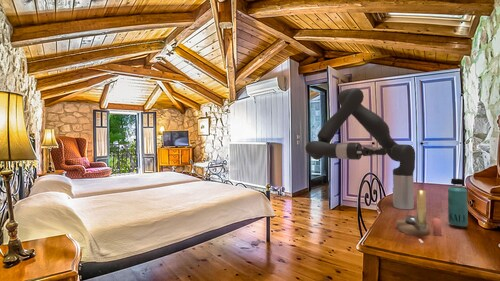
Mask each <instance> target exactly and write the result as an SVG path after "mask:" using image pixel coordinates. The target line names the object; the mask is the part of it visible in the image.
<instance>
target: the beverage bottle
mask: <svg viewBox="0 0 500 281" xmlns="http://www.w3.org/2000/svg"><path fill="white" fill-rule="evenodd" d="M450 184H451V186H450V187H448V188H447V192H448V193H447V204H448V205H447V220H448V221H447V222H448V223H449V224H451V225H452V226H453V225H454V226H456V227H467V226H468V224H469V217H468V216H469V215H468V213H469V212H468V211H469V209H468V189H466V188H465V187H463V186H464V185H465V182H464V179H462V178H451V179H450ZM455 185H457V186H455Z"/></svg>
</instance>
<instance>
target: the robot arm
mask: <svg viewBox="0 0 500 281" xmlns="http://www.w3.org/2000/svg"><path fill="white" fill-rule="evenodd" d="M364 99H365V98H364V93H363V91H362V90H361V89H360V88H357V87H353V88H346V89H343V90H341V91H340V92H339V94H338V95H337V101H338V103H339V105H340V107H339V108H338V110H336V112H335V113H334V114H333V115H332V116H331V117H330V118H328V119H327V121H326V122H325V123H324V124H323V125H322V127H321V129H320V130H319V132H318V133H317V138H318V140H311V141H309V142H308V143H306V144H305V152H306V153H307V154H308V155H309V156H310V157H311V158H312V159H313V160H317V161H318V160H321V159H323V157H326V158H329V159H339V160H340V159H341V160H355V161H359V160H361V158H362V156H363V157H372V156H388V157H389V158H390V159H391V160H393V161H395V162H398V163H399V165H398V167H395V168H393V169H392V206H393V207H394V208H396V209H399V210H414V209H415V208H414V206H415V204H414V202H415V201H414V199H415V198H414V195H415V194H414V171H415V169H416V168H415V167H416V150H415V148H414V147H413V146H412V145H411V144H400V143H397V142H396V141H395V140H394V139H393V138H392V137H391V132H390V127H389V125H388V124H387V123H386V121H385V120H384V119H383V118H382V117H381V116H380V115H378V114H377V113H376V112H373V111H372V110H370V109H368V108H367V107H365V106H364V105H363V104H362V103H363V101H364ZM351 115H352V116H353V118H355V120H356V121H357V122H358V123H359V124H360V125H361V126H362V127H363V128H364V129H365V131H366V132H368V133H369V135H370V136H371V137H372V138H373V139H374V140H375V141H376V142H377V143H378V144H379V145H380V146H381V147H377V146H368V145H367V146H362V144H361V143H360V142H332V139H333V138H334V137H335V136H336V134H337V132H338V131H339V129H340V128H341V127H342V126H343V124H344V123H345V122H346V121H347V120H348V118H350V116H351Z"/></svg>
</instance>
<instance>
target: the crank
mask: <svg viewBox="0 0 500 281" xmlns="http://www.w3.org/2000/svg"><path fill="white" fill-rule="evenodd" d="M426 194H427V192H426V190H424V189H416V216H415V215H406V216H405V218H404V219H405V222H406V223H409V224H414V225H415V226H416V227H418V228H419V229H423V230H426V223H427V195H426Z"/></svg>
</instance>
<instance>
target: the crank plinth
mask: <svg viewBox="0 0 500 281" xmlns="http://www.w3.org/2000/svg"><path fill="white" fill-rule="evenodd" d="M430 227H431V226H430V224H429V223H428V222H426V230H423V229H419V228H418V227H416V226H415V225H414V224H409V223H406V222H405V218H400V219H397V221H396V230H397V231H399V232H401V233H403V234H407V235H409V236H414V237H415V236H416V237H417V236H419V237H424V236H429V235H430V234H431V233H430Z"/></svg>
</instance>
